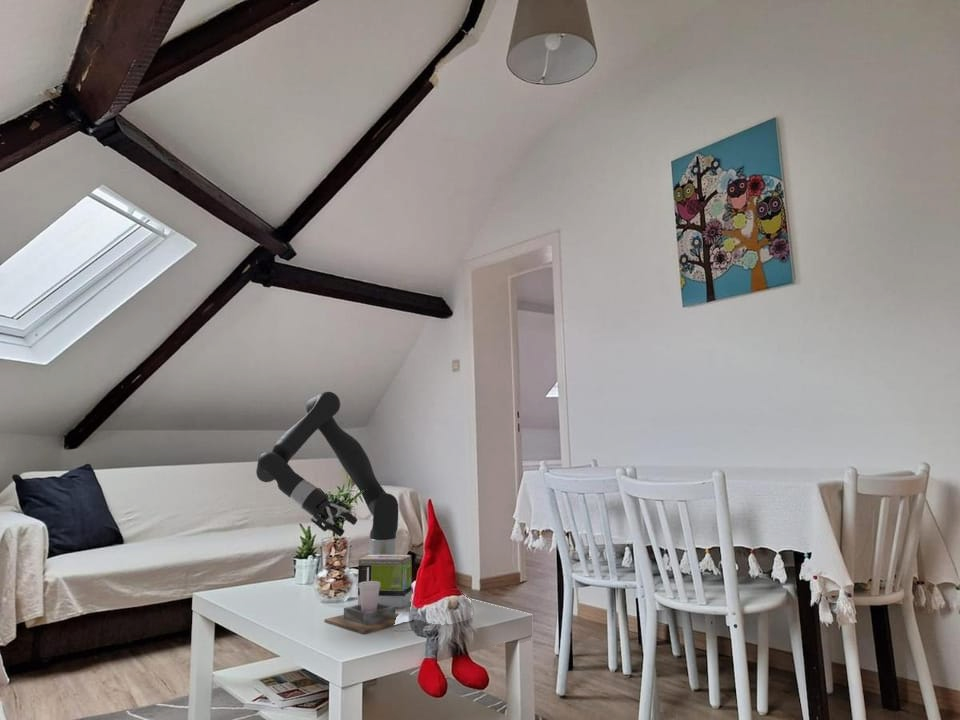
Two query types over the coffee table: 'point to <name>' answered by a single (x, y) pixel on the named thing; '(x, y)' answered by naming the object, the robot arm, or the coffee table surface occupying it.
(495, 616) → the coffee table surface
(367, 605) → the smoothie
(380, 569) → the tea box
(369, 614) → the collar stand
